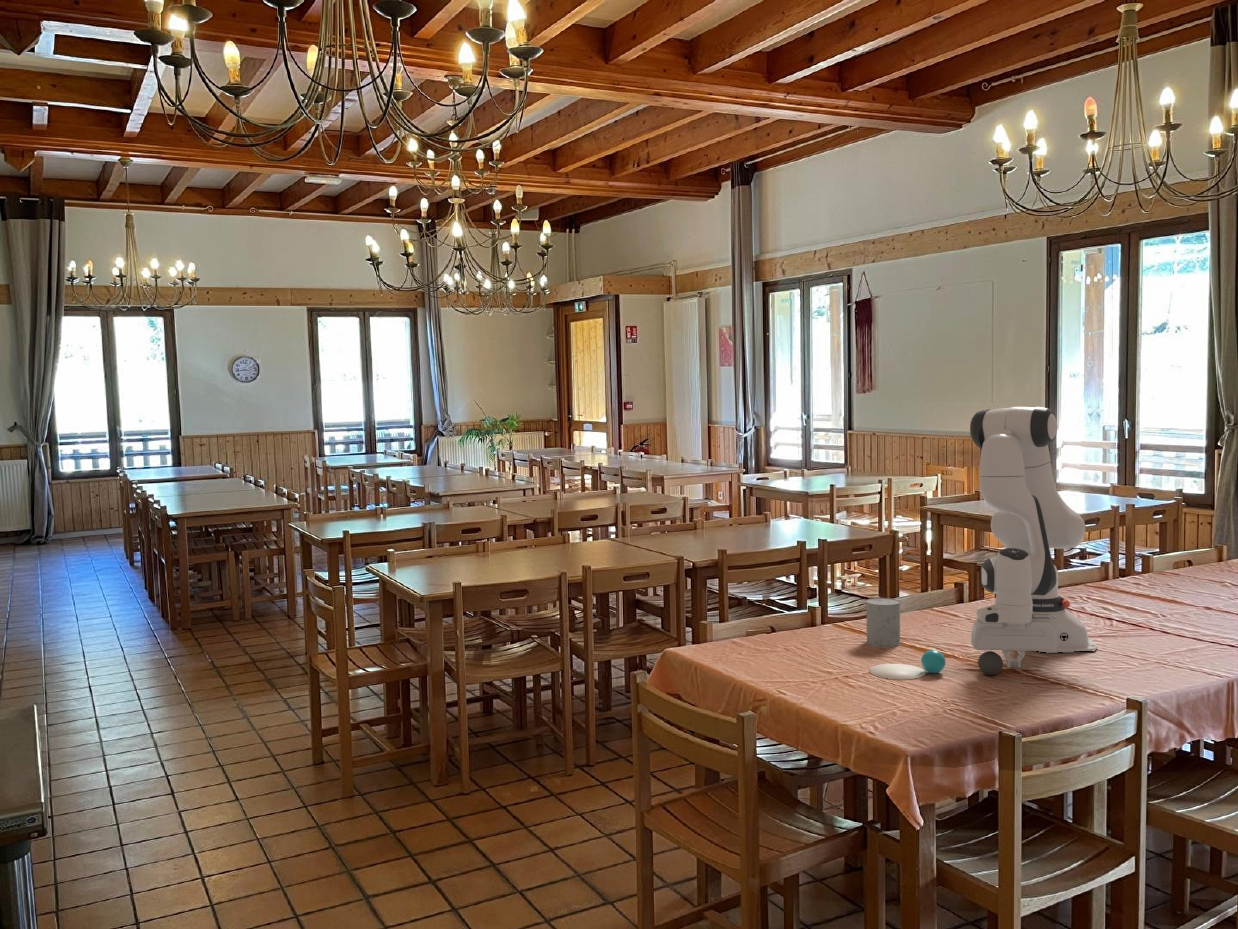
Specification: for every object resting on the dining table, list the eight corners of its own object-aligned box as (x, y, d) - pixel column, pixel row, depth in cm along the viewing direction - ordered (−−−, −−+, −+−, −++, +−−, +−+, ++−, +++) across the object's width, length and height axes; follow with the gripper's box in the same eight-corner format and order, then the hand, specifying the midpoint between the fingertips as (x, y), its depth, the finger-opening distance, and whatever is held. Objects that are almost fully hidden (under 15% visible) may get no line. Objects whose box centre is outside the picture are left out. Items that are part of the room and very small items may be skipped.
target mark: (922, 665, 266) (922, 664, 266) (927, 680, 252) (927, 679, 252) (868, 663, 269) (868, 663, 269) (870, 679, 255) (870, 678, 255)
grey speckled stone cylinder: (901, 640, 292) (901, 598, 291) (899, 648, 283) (899, 605, 282) (867, 638, 295) (867, 597, 294) (864, 646, 286) (864, 604, 285)
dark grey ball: (1000, 671, 258) (1000, 648, 258) (1004, 678, 252) (1004, 655, 252) (976, 671, 259) (976, 648, 259) (979, 677, 253) (979, 654, 253)
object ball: (944, 670, 261) (944, 647, 260) (946, 676, 255) (946, 653, 255) (920, 669, 262) (920, 646, 262) (922, 676, 256) (922, 653, 256)
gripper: (1053, 611, 254) (1053, 664, 255) (969, 610, 258) (969, 663, 259) (1060, 616, 248) (1060, 671, 249) (974, 616, 252) (974, 669, 253)
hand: (1013, 667), depth 254 cm, fingers closed
